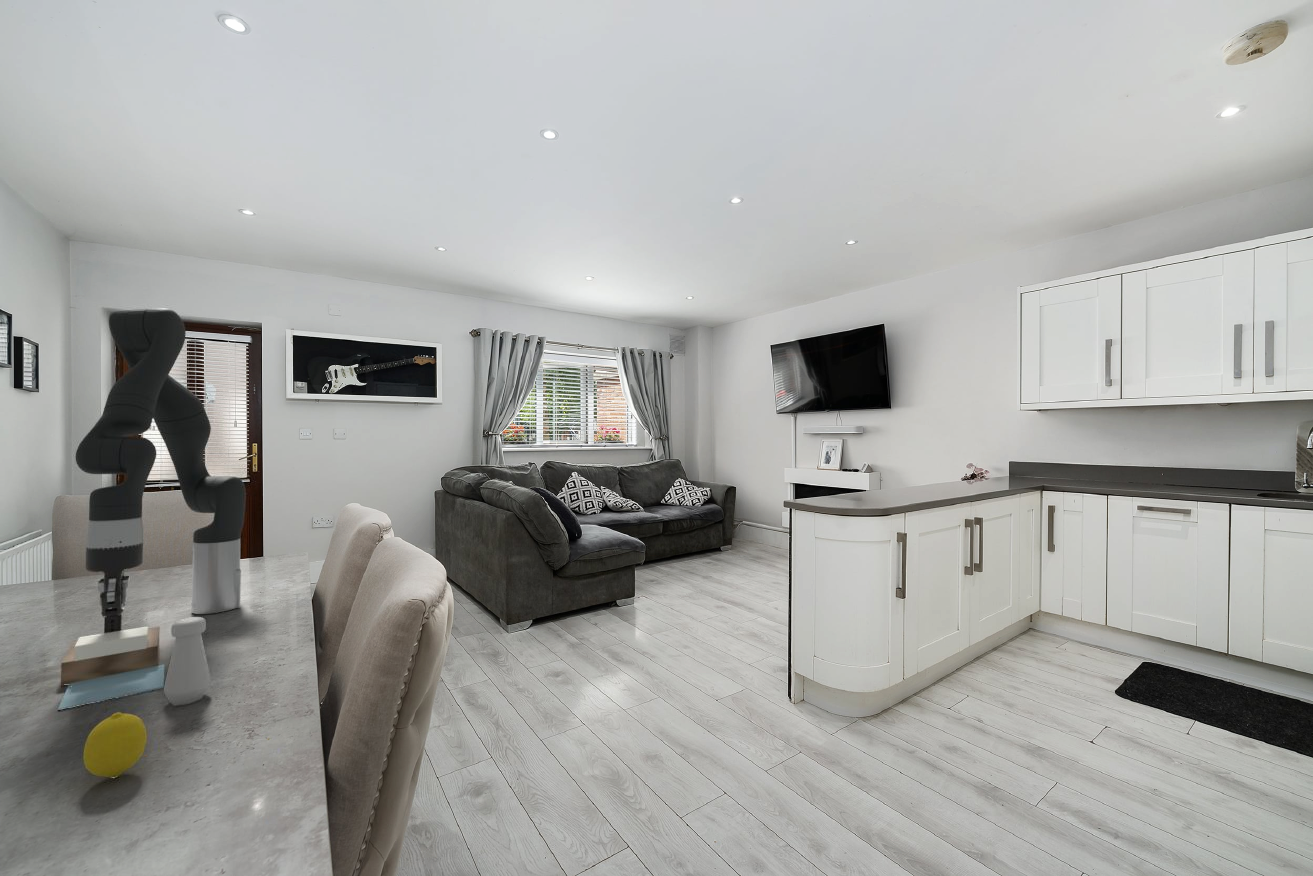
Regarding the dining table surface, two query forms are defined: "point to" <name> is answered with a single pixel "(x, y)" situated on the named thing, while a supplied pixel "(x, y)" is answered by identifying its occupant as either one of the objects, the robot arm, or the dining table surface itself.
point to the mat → (113, 686)
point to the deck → (110, 661)
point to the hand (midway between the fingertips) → (112, 635)
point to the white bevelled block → (111, 643)
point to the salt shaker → (187, 663)
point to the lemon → (115, 745)
